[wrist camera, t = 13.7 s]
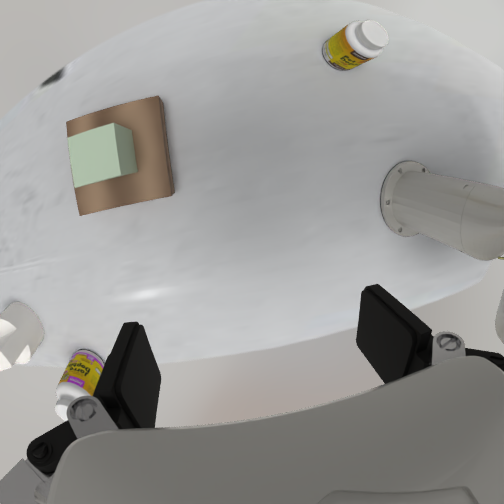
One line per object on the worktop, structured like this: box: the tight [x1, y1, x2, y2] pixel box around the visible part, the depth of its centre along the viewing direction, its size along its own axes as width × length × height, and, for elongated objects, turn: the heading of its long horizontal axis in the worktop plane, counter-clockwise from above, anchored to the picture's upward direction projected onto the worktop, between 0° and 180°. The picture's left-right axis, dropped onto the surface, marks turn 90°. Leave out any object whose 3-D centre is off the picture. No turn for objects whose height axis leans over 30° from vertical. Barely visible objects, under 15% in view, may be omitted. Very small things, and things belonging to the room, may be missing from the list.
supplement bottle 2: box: [323, 20, 389, 70], centre depth 27 cm, size 6×6×10 cm
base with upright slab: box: [0, 302, 44, 371], centre depth 30 cm, size 9×9×12 cm
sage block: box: [68, 123, 138, 188], centre depth 24 cm, size 5×5×7 cm
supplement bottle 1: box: [55, 350, 104, 421], centre depth 34 cm, size 7×7×13 cm
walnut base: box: [66, 96, 175, 216], centre depth 30 cm, size 12×12×4 cm
